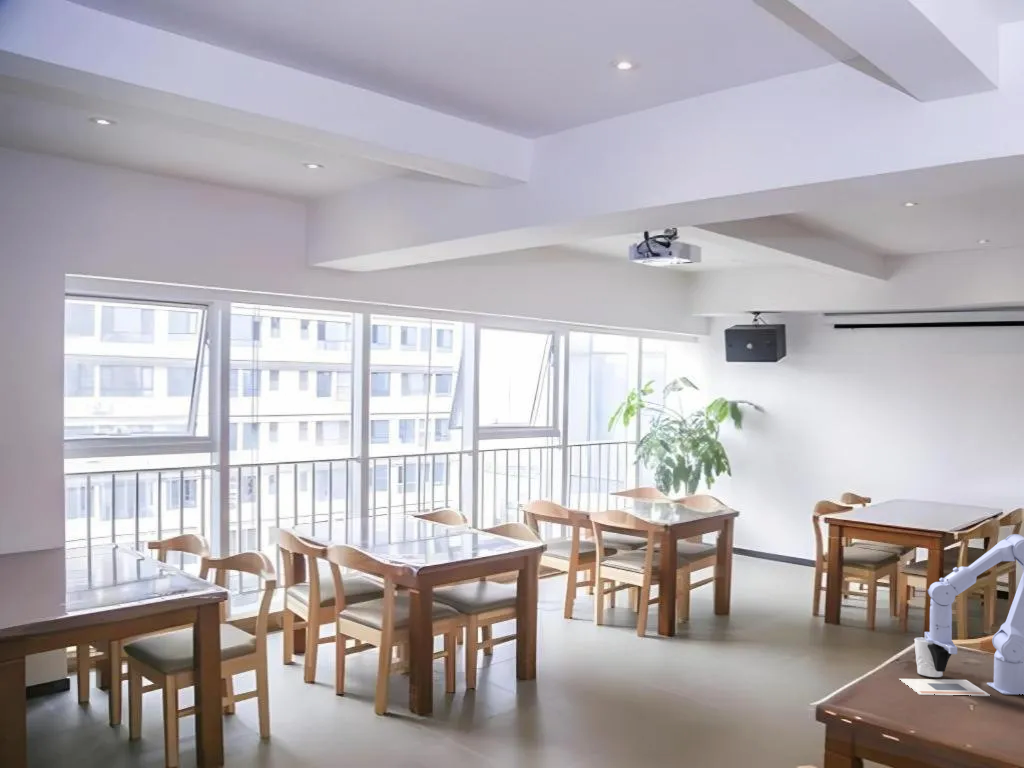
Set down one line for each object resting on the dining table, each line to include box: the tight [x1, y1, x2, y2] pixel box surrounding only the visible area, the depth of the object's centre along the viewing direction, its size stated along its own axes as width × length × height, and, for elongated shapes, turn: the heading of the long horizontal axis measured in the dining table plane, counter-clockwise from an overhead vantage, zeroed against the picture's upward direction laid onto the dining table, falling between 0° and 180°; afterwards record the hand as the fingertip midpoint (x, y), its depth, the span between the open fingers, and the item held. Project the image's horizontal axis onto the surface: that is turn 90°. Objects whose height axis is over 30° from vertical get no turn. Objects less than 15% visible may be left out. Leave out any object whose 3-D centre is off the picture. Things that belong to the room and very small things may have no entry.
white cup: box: [913, 636, 943, 678], centre depth 242 cm, size 8×8×10 cm
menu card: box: [898, 678, 991, 697], centre depth 231 cm, size 20×12×1 cm, turn 90°
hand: (940, 670), depth 235 cm, fingers closed
